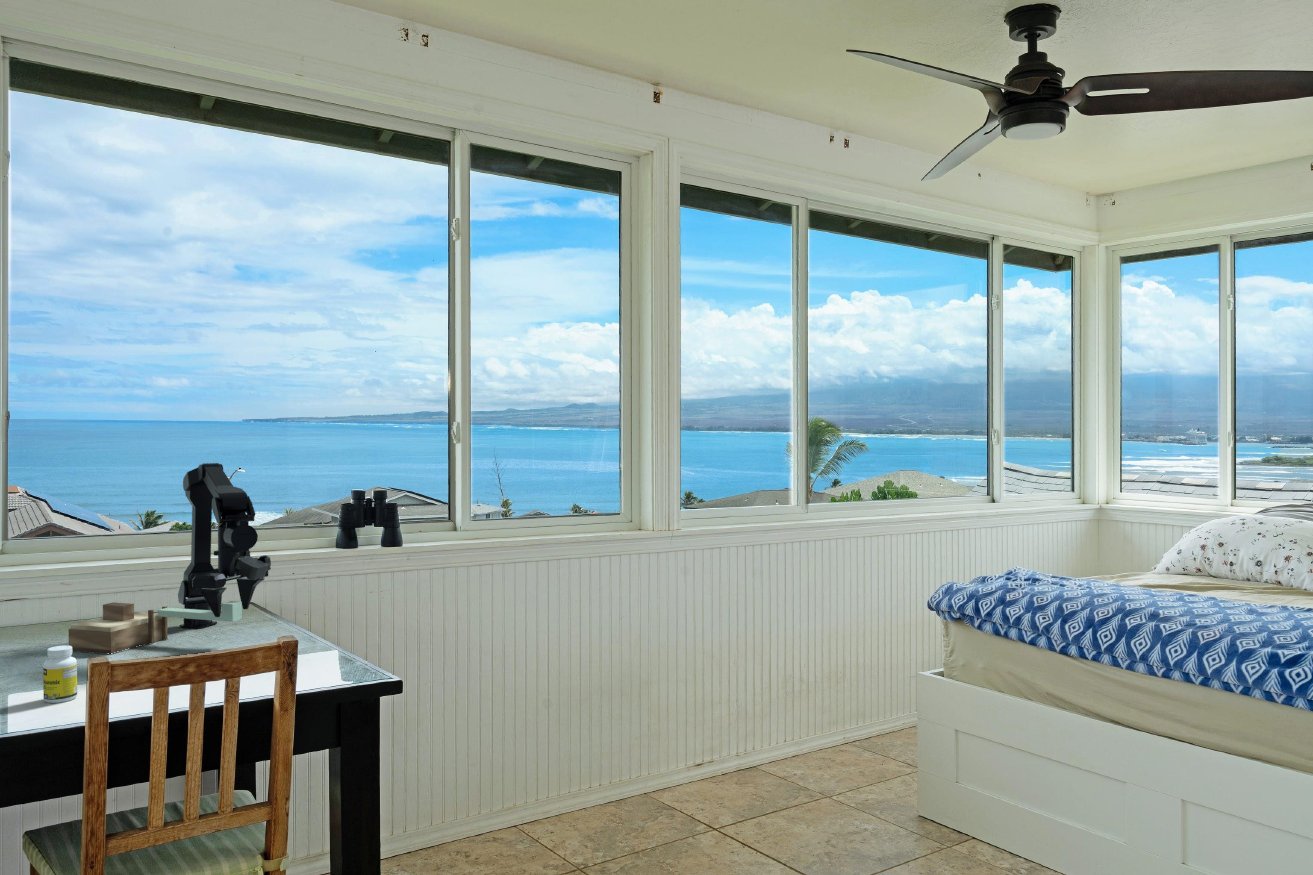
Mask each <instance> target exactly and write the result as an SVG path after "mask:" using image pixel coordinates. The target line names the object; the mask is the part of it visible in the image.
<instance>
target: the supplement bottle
mask: <svg viewBox="0 0 1313 875" xmlns="http://www.w3.org/2000/svg"><path fill="white" fill-rule="evenodd" d="M46 651H47V655H46V656H47V657H48V659H47V660H46V661H44V663H43V664H42V665H43V667H42V673H43V674H42V675H43V677H42V678H43V681H42V684H43V687H42V688H43V694H42V695H43V701H44V702H45V703H46V704H47V703H48V704H59V703H67V702H69V701H72V700H75V699H76V698H77V697H78V660H77V659H76V658H75V657H74V656H72V655H73V651H72V646H69V645H56V646H52V647H49V648H47V650H46Z"/></svg>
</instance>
